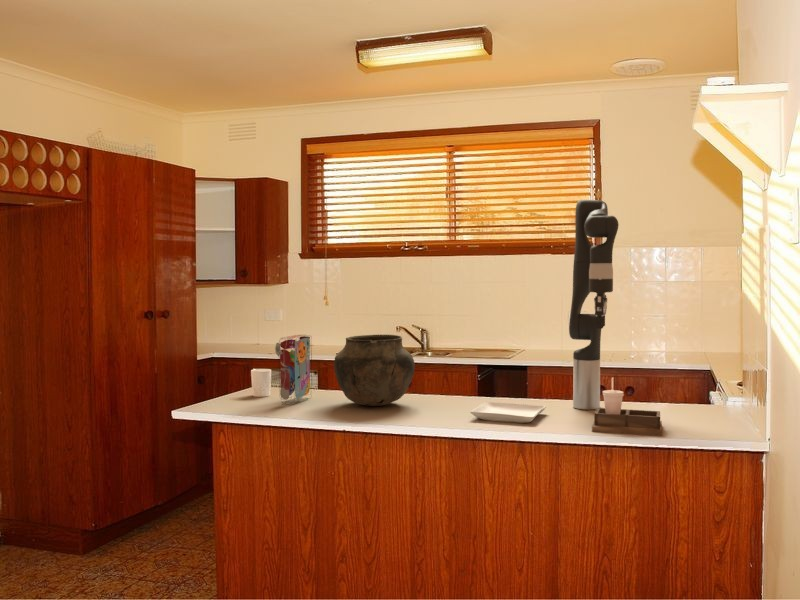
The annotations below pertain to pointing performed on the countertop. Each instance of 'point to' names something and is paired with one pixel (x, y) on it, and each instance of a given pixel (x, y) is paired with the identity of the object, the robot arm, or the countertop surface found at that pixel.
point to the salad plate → (507, 412)
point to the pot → (374, 369)
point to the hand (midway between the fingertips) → (600, 327)
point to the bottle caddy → (628, 422)
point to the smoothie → (613, 400)
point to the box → (299, 375)
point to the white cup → (261, 382)
